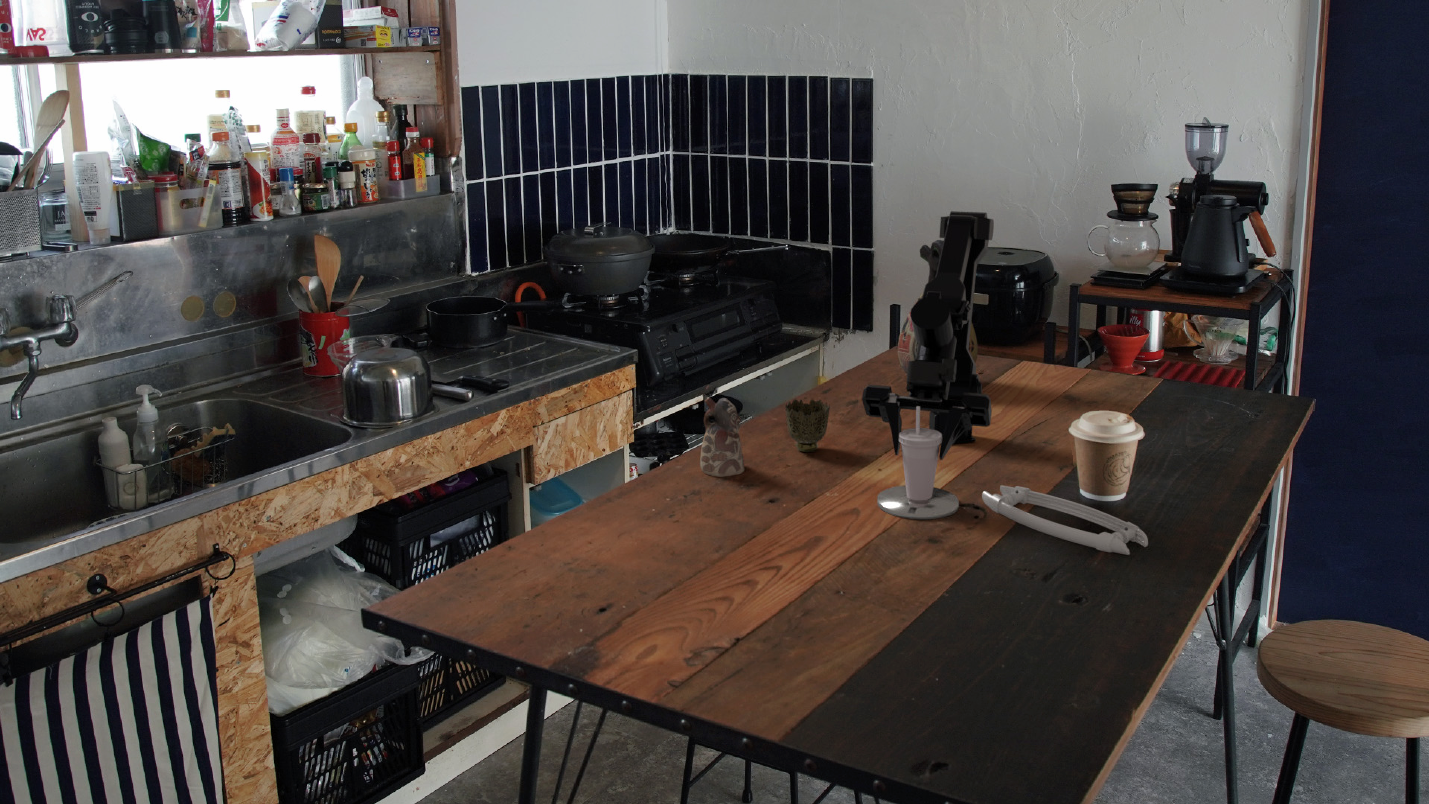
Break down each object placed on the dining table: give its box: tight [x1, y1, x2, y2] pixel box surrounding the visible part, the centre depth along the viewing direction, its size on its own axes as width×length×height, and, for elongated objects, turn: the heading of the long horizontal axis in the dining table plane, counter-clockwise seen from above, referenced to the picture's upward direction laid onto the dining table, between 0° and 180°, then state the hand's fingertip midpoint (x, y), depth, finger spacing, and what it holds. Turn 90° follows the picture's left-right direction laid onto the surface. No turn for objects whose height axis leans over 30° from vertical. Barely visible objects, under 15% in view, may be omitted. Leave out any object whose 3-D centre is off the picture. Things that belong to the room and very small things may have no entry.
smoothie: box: [899, 406, 942, 500], centre depth 183 cm, size 6×6×14 cm
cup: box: [784, 398, 831, 453], centre depth 208 cm, size 8×7×8 cm
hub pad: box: [876, 484, 960, 521], centre depth 185 cm, size 12×12×1 cm
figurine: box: [699, 397, 746, 478], centre depth 199 cm, size 7×7×12 cm
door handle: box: [981, 484, 1149, 556], centre depth 177 cm, size 3×10×25 cm
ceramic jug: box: [897, 239, 979, 375], centre depth 239 cm, size 17×15×30 cm
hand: (918, 456), depth 181 cm, fingers closed on smoothie, 6 cm apart
